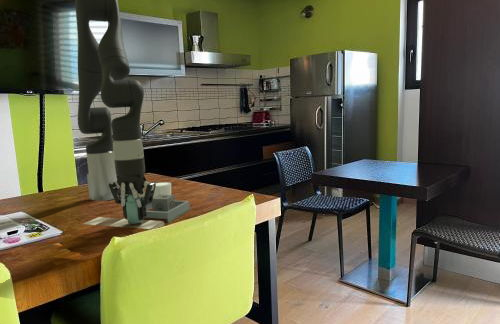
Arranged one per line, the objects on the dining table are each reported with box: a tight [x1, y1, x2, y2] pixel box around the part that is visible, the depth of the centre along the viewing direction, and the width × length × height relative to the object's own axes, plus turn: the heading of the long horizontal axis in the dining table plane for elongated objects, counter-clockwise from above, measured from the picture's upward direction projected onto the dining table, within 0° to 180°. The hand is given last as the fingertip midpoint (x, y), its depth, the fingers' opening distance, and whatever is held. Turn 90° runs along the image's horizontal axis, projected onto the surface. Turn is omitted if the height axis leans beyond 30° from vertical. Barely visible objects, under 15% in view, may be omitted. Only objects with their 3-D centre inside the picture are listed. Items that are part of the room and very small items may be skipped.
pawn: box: [126, 194, 143, 224], centre depth 101 cm, size 4×4×8 cm
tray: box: [145, 200, 191, 224], centre depth 112 cm, size 12×12×3 cm
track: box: [83, 216, 165, 230], centre depth 103 cm, size 22×7×1 cm, turn 71°
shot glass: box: [153, 181, 172, 198], centre depth 125 cm, size 7×7×7 cm
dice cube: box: [151, 194, 176, 212], centre depth 112 cm, size 5×5×5 cm
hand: (135, 218), depth 101 cm, fingers closed on pawn, 3 cm apart
